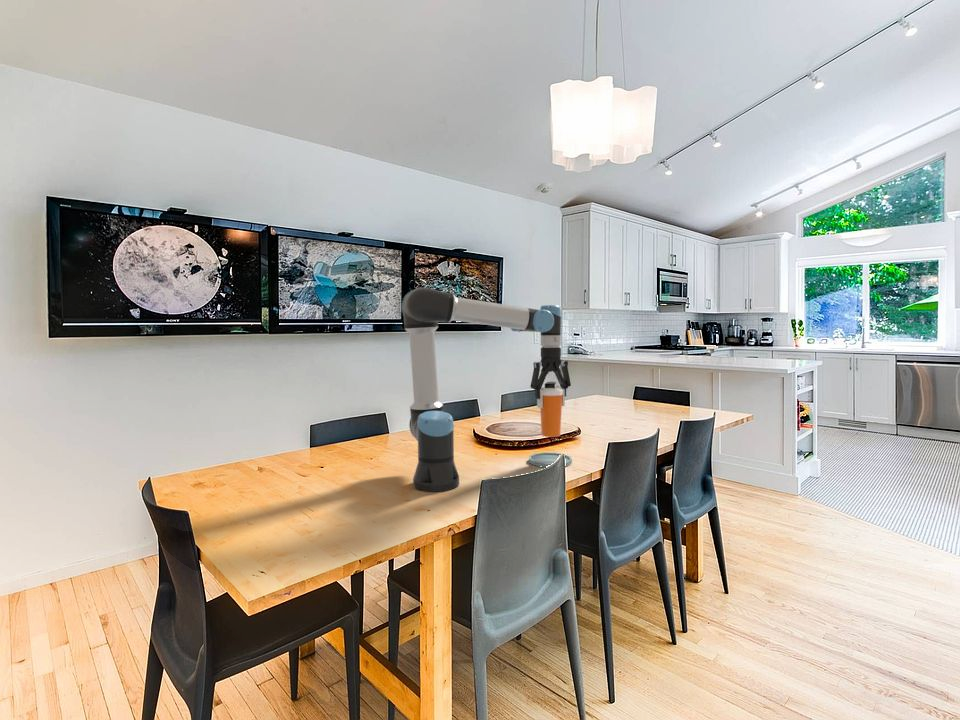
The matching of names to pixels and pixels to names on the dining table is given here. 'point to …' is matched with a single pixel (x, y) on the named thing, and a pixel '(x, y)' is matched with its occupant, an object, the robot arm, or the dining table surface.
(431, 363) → the robot arm
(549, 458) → the saucer
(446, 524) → the dining table surface
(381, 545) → the dining table surface
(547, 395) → the shaker bottle
